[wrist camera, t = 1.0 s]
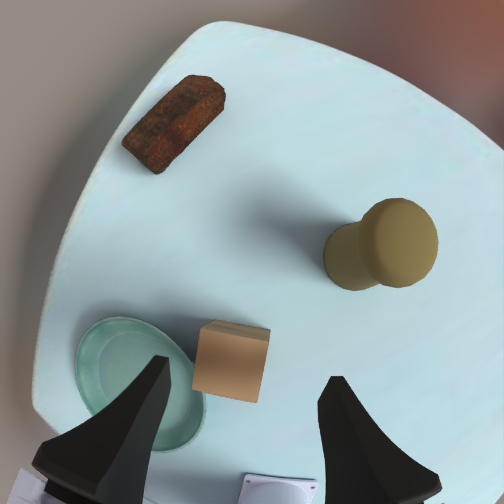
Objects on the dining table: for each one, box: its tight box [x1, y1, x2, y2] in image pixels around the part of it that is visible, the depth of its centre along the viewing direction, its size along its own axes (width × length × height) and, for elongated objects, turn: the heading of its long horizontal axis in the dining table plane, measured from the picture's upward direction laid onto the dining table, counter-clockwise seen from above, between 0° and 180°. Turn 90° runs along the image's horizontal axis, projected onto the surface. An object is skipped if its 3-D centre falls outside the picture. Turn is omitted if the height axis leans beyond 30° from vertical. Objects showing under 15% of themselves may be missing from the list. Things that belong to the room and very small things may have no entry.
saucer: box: [75, 316, 206, 453], centre depth 23 cm, size 15×15×3 cm
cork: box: [323, 198, 438, 291], centre depth 18 cm, size 6×6×11 cm
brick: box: [122, 75, 226, 174], centre depth 24 cm, size 11×4×5 cm, turn 141°
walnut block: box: [192, 320, 270, 403], centre depth 21 cm, size 5×5×5 cm
